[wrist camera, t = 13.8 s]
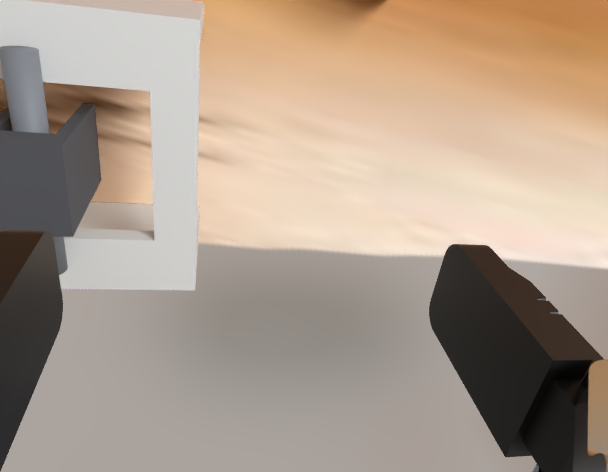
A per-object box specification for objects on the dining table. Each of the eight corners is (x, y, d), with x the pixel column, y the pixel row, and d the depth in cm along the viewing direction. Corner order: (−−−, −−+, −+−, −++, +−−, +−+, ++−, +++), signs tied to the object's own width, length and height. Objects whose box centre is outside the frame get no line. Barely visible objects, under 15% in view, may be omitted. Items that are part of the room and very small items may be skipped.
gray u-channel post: (19, 98, 35) (-36, 140, 27) (94, 104, 36) (61, 146, 28) (32, 176, 38) (-15, 234, 30) (101, 179, 39) (72, 236, 31)
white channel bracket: (-44, -28, 36) (-173, -18, 24) (204, 2, 40) (198, 24, 28) (3, 212, 46) (-72, 304, 34) (199, 219, 49) (193, 305, 37)
